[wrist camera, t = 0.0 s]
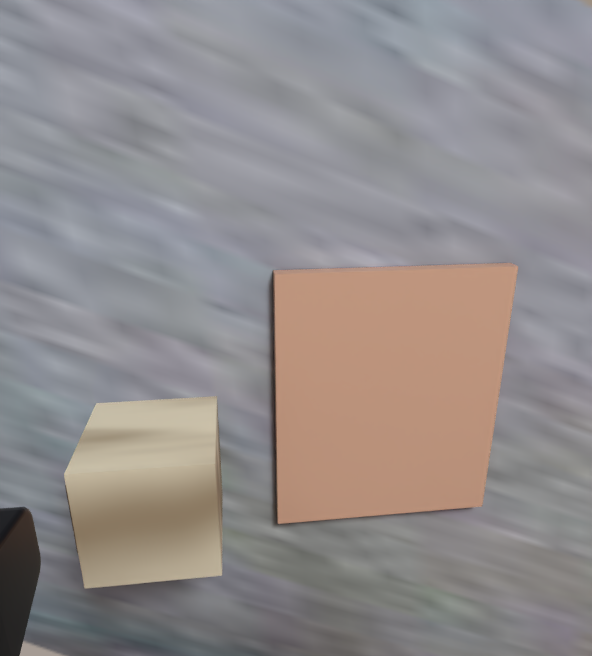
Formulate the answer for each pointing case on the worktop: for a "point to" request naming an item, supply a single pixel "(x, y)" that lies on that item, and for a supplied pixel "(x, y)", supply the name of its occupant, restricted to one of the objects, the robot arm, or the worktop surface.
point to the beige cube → (147, 492)
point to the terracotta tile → (387, 387)
